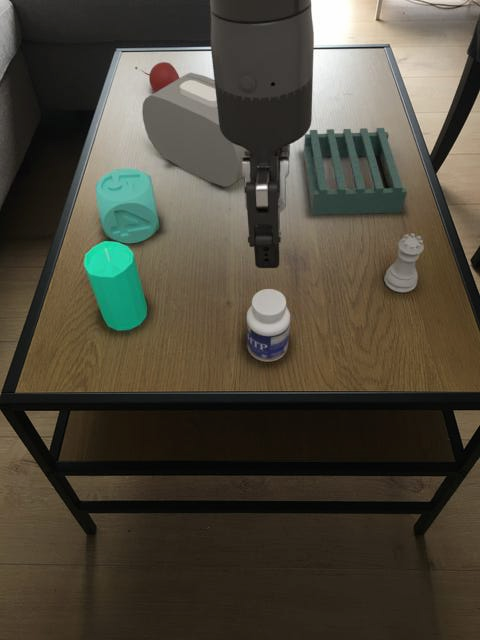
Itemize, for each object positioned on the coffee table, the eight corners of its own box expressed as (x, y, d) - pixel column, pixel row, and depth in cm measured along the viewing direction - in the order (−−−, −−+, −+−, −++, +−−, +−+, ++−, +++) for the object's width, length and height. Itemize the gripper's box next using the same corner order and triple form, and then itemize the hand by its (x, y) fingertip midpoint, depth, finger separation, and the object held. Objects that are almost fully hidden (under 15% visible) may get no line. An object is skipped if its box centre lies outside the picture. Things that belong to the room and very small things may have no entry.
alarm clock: (274, 171, 91) (276, 96, 81) (238, 199, 87) (236, 124, 77) (185, 130, 100) (177, 57, 89) (149, 154, 95) (136, 80, 85)
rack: (383, 152, 94) (388, 127, 90) (401, 212, 84) (408, 187, 80) (303, 154, 94) (305, 129, 90) (311, 214, 84) (314, 190, 81)
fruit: (161, 92, 112) (136, 59, 107) (183, 78, 110) (159, 44, 105) (158, 108, 109) (132, 75, 103) (181, 94, 106) (156, 59, 101)
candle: (100, 302, 74) (77, 238, 65) (143, 292, 75) (126, 227, 66) (106, 335, 71) (83, 272, 61) (151, 324, 72) (135, 260, 62)
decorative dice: (161, 239, 82) (153, 197, 75) (108, 248, 81) (96, 206, 75) (156, 206, 87) (148, 164, 80) (106, 213, 86) (94, 171, 79)
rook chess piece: (377, 275, 76) (388, 233, 70) (405, 267, 77) (418, 224, 71) (394, 298, 73) (406, 256, 67) (422, 289, 74) (437, 246, 68)
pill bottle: (238, 344, 69) (236, 299, 62) (269, 323, 71) (270, 277, 64) (266, 370, 67) (267, 326, 60) (296, 347, 69) (301, 302, 62)
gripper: (313, 115, 36) (308, 288, 48) (312, 29, 45) (308, 192, 57) (202, 119, 36) (224, 287, 49) (223, 33, 46) (237, 193, 58)
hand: (269, 235), depth 53 cm, fingers open, 8 cm apart
